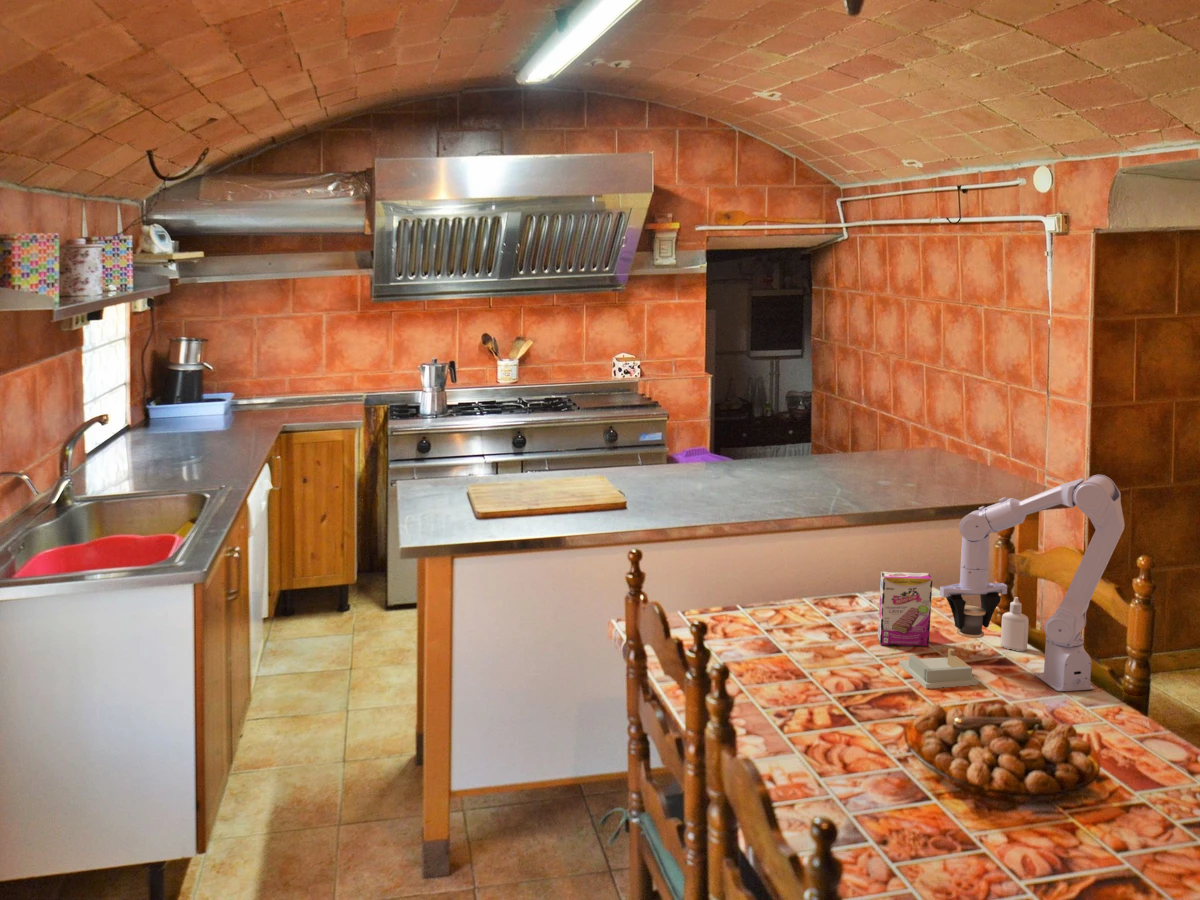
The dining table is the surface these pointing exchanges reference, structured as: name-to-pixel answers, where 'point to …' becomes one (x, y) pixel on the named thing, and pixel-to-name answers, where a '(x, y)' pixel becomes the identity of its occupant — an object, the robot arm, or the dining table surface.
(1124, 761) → the dining table surface
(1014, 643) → the eye dropper bottle
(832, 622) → the dining table surface
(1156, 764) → the dining table surface
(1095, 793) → the dining table surface
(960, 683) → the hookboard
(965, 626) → the spool
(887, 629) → the candy bar box
